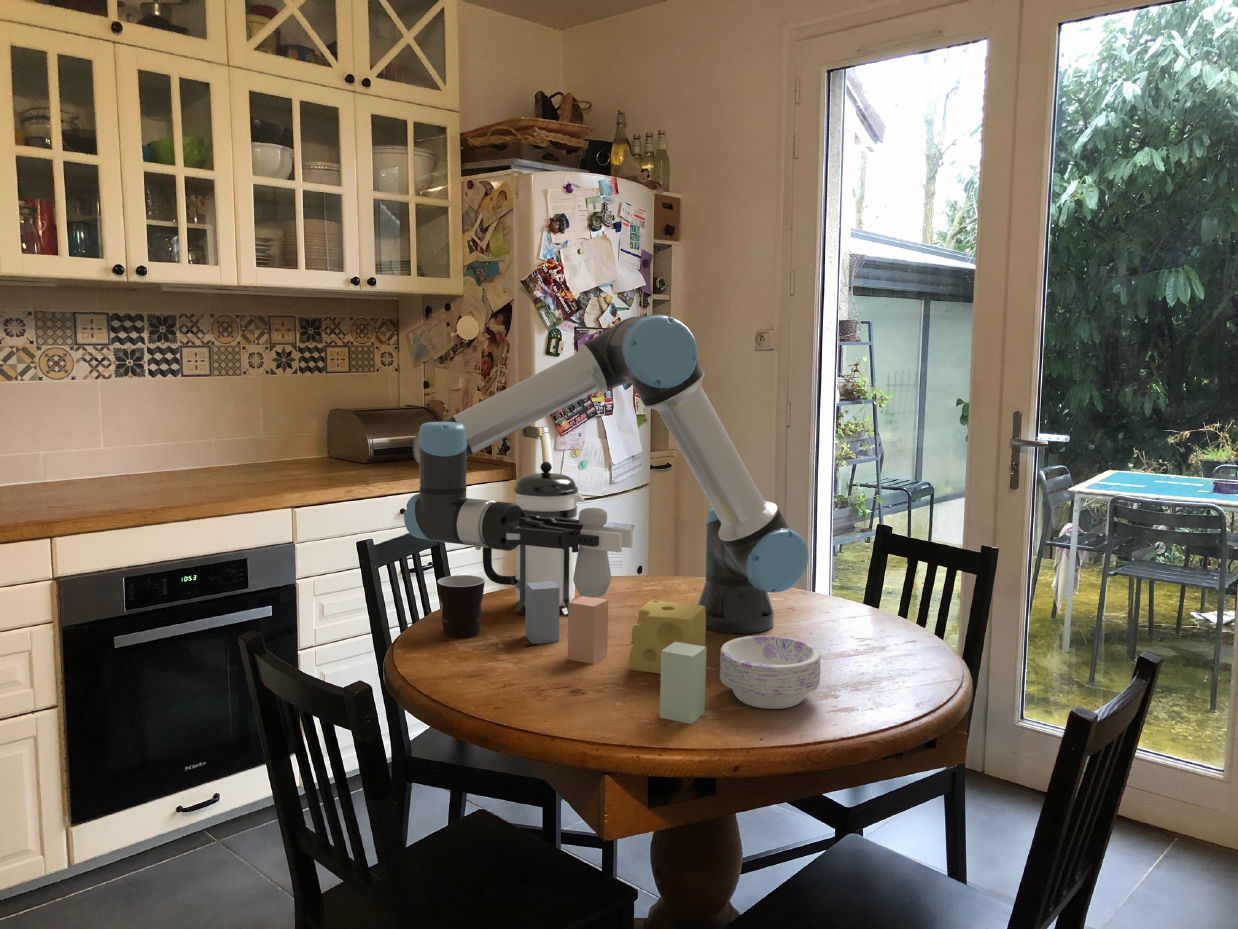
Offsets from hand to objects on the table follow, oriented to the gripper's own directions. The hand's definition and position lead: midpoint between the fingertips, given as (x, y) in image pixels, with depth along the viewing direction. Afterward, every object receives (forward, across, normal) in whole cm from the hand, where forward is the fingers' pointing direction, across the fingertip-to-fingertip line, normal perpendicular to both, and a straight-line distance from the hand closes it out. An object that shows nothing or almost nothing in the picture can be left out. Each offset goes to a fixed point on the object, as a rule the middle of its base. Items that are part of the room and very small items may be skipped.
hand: (625, 540), depth 143 cm
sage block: (+10, 0, -25) cm, 27 cm away
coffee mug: (-42, -18, -25) cm, 52 cm away
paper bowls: (+19, -13, -25) cm, 34 cm away
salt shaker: (-5, 0, -9) cm, 11 cm away
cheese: (-1, -19, -25) cm, 32 cm away
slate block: (-27, -21, -25) cm, 43 cm away
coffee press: (-38, -38, -25) cm, 59 cm away
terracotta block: (-15, -16, -25) cm, 33 cm away
